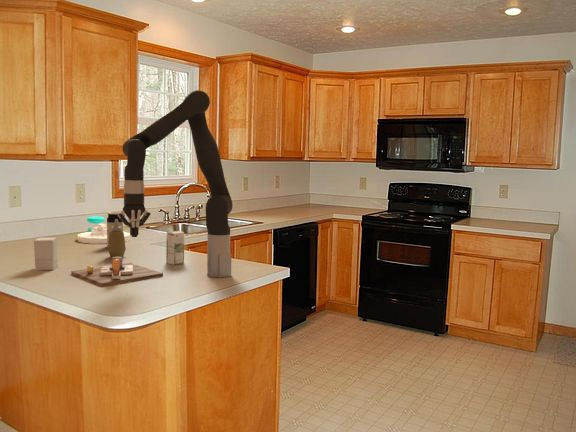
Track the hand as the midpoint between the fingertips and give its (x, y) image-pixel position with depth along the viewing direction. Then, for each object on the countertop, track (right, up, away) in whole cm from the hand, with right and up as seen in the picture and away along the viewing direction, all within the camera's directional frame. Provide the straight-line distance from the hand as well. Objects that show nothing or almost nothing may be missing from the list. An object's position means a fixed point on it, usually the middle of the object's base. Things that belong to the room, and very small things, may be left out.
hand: (134, 236), depth 200 cm
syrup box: (+8, -14, +35) cm, 38 cm away
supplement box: (-42, -14, +18) cm, 48 cm away
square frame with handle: (-8, -15, +6) cm, 18 cm away
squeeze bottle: (-22, -12, +45) cm, 52 cm away
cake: (-45, -6, +93) cm, 104 cm away
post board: (-10, -16, +9) cm, 21 cm away
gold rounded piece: (-19, -15, +5) cm, 25 cm away
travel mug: (-31, -8, +72) cm, 79 cm away
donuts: (-57, -3, +115) cm, 128 cm away
